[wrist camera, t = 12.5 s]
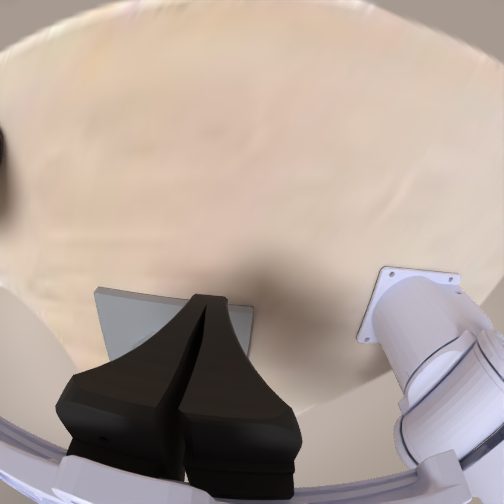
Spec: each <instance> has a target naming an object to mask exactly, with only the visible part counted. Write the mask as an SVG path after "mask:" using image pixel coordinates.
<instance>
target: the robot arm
mask: <svg viewBox="0 0 504 504" xmlns="http://www.w3.org/2000/svg"><path fill="white" fill-rule="evenodd" d="M390 272H393V273H392V274H391V275H389V274H390ZM450 277H451V278H450ZM449 278H450V279H449ZM460 281H461V276H460V275H459V274H455V273H445V272H435V271H425V270H415V269H406V268H396V267H384V268H382V269H381V271H380V274H379V277H378V280H377V283H376V286H375V289H374V292H373V295H372V298H371V301H370V304H369V306H368V309H367V312H366V315H365V317H364V320H363V323H362V325H361V328H360V330H359V333H358V335H357V341H358V343H380V344H381V346H382V348H383V350H384V352H385V354H386V357H387V359H388V361H389V363H390V365H391V367H392V369H393V372H394V374H395V376H396V378H397V381H398V383H399V385H400V387H401V390H402V392H403V394H404V397H403V398H402V400H401V401H400V402H399V403H398V405H399V407H400V410H401V413H402V416H401V417H399V419H398V420H397V421H396V424H395V426H394V441H395V447H396V450H397V453H398V455H399V457H400V459H401V461H402V462H403V463H404V465H405V466H406V467H407V468H408V469H409V470H407V471H403V472H400V473H396V474H392V475H387V476H383V477H378V478H373V479H368V480H362V481H356V482H350V483H343V484H336V485H327V486H317V487H303V488H294V481H293V474H294V472H295V466H294V460H295V458H296V456H297V454H298V452H299V451H300V448H301V446H302V436H301V432H300V428H299V425H298V422H297V420H296V417H295V415H294V412H293V410H292V408H291V407H290V406H289V405H287V404H286V403H285V402H284V401H283V400H282V399H281V398H280V397H279V396H278V395H277V394H276V393H275V392H274V391H273V390H272V389H271V388H270V387H269V386H268V385H267V384H266V382H265V381H264V380H263V379H262V377H261V376H260V375H259V374H258V372H257V371H256V370H255V368H254V367H253V365H252V364H251V362H250V361H249V359H248V358H247V356H246V354H245V352H244V351H243V349H242V347H241V345H240V343H239V341H238V338H237V336H236V334H235V331H234V329H233V326H232V323H231V320H230V316H229V312H228V305H227V303H228V299H227V298H226V297H223V296H212V295H202V294H195V295H193V296H192V297H191V299H190V300H189V301H188V302H187V303H186V304H185V305H184V307H183V308H182V309H181V310H180V311H179V312H178V313H177V314H176V315H175V316H174V317H173V318H172V319H171V320H170V321H169V322H168V323H167V324H166V325H165V326H164V327H162V328H161V329H160V330H159V331H158V332H157V333H156V334H154V335H153V336H152V337H151V338H149V339H148V340H147V341H145V342H144V343H142V344H141V345H139V346H138V347H136V348H135V349H133V350H131V351H130V352H128V353H126V354H124V355H123V356H121V357H119V358H117V359H115V360H113V361H111V362H108V363H106V364H104V365H101V366H99V367H96V368H93V369H90V370H87V371H84V372H81V373H78V374H75V375H73V376H72V378H71V379H70V381H69V382H68V383H67V385H66V387H65V389H64V391H63V393H62V394H61V396H60V398H59V400H58V402H57V404H56V406H55V407H56V413H57V415H58V417H59V418H60V420H61V421H62V423H63V424H64V426H65V427H66V429H67V430H68V432H69V433H70V434H71V436H72V437H73V439H72V441H71V443H70V446H69V449H68V450H67V449H64V448H62V447H60V446H57V445H55V444H53V443H51V442H48V441H46V440H44V439H42V438H40V437H38V436H36V435H34V434H32V433H30V432H28V431H26V430H24V429H22V428H20V427H18V426H16V425H14V424H13V423H11V422H9V421H8V420H6V419H4V418H2V417H1V416H0V479H1V480H3V481H4V482H6V483H7V484H8V485H10V486H12V487H13V488H14V489H16V490H18V491H19V492H21V493H23V494H24V495H26V496H27V497H29V498H31V499H32V500H34V501H36V502H37V503H39V504H466V503H468V502H470V501H471V500H472V497H479V499H480V500H481V501H482V503H483V504H504V425H503V424H504V336H503V335H502V334H501V333H499V332H498V331H496V330H494V328H493V325H492V322H491V321H490V319H489V317H488V316H487V315H486V314H485V313H484V312H483V311H482V310H481V309H480V307H479V306H478V305H477V304H476V303H475V302H474V301H473V300H472V299H471V298H470V297H469V296H468V295H467V294H466V293H465V292H464V291H463V290H462V289H461V288H460V287H459V283H460ZM365 338H367V339H365ZM502 425H503V426H502ZM501 426H502V427H501ZM500 427H501V428H500ZM499 428H500V429H499ZM498 429H499V430H498ZM497 430H498V431H497ZM496 431H497V432H496ZM495 432H496V433H495ZM494 433H495V434H494ZM492 434H493V435H492ZM491 435H492V436H491ZM490 436H491V437H490ZM489 437H490V438H489ZM488 438H489V439H488ZM486 439H488V440H487V441H485V440H486ZM484 441H485V442H484ZM483 442H484V443H483ZM482 443H483V444H482ZM480 444H482V445H480ZM479 445H480V446H479ZM478 446H479V447H478ZM477 447H478V448H477ZM476 448H477V449H476ZM474 449H475V450H474ZM185 471H186V474H187V478H188V481H189V483H188V482H187V483H186V482H184V479H185Z"/></svg>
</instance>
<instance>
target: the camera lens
mask: <svg viewBox="0 0 504 504" xmlns="http://www.w3.org/2000/svg"><path fill="white" fill-rule="evenodd" d="M1 158H2V139H1V133H0V163H1Z"/></svg>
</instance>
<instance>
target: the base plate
mask: <svg viewBox="0 0 504 504" xmlns="http://www.w3.org/2000/svg"><path fill="white" fill-rule="evenodd" d="M94 297H95V302H96V307H97V311H98V316H99V320H100V325H101V329H102V333H103V337H104V341H105V345H106V349H107V352H108V356H109V359H110V362H111V361H113V360H115V359H117V358H119V357H121V356H123V355H124V354H126V353H128V352H130V350H131V348H132V346H133V345H134V344H135V343H137V342H138V341H139V340H141V339H142V338H144V337H145V336H146V335H148V334H149V333H151V332H152V331H155V332H158V331H159V330H160V329H161V328H162V327H164V326H165V325H166V324H167V323H168V322H169V321H170V320H171V319H172V318H173V317H174V316H175V315H176V314H177V313H178V312H179V311H180V310H181V309H182V308H183V307H184V305H185V304H186V303H187V302H188V301H189V300H185V299H177V298H169V297H162V296H155V295H148V294H141V293H134V292H128V291H121V290H115V289H109V288H103V287H98V288H97V289H96V290H95V292H94ZM227 305H228V304H227ZM228 312H229V316H230V320H231V323H232V326H233V329H234V331H235V334H236V336H237V338H238V341H239V343H240V345H241V347H242V349H243V351H244V352H245V354H246V356H247V354H248V347H249V340H250V333H251V326H252V319H253V307H248V306H238V305H228Z"/></svg>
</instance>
